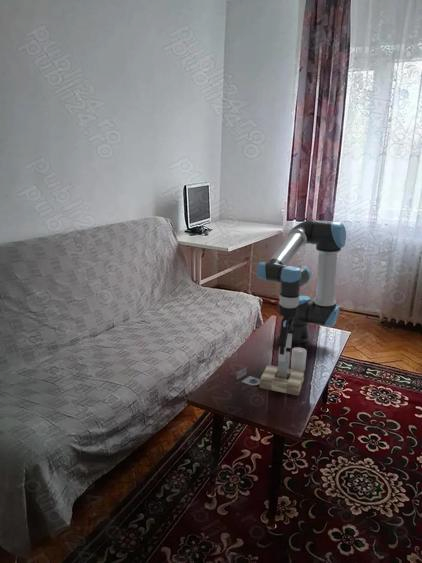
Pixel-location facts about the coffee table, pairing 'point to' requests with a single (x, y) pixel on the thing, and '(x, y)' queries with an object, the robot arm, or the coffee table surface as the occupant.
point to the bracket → (248, 378)
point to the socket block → (282, 380)
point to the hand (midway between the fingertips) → (284, 354)
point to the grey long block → (283, 367)
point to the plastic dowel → (298, 359)
